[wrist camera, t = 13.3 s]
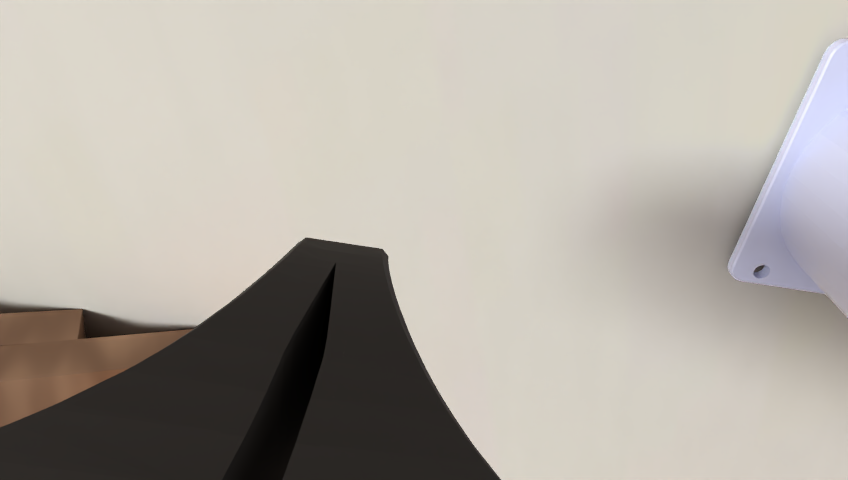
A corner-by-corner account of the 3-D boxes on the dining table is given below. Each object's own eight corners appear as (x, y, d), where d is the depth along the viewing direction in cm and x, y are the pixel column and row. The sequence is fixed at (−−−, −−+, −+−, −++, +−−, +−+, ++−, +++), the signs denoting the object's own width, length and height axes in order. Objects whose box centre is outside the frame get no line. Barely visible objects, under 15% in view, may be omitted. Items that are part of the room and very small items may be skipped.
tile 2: (224, 358, 22) (-30, 384, 20) (225, 457, 25) (-1, 493, 22) (220, 326, 24) (-17, 347, 21) (221, 423, 26) (9, 453, 24)
